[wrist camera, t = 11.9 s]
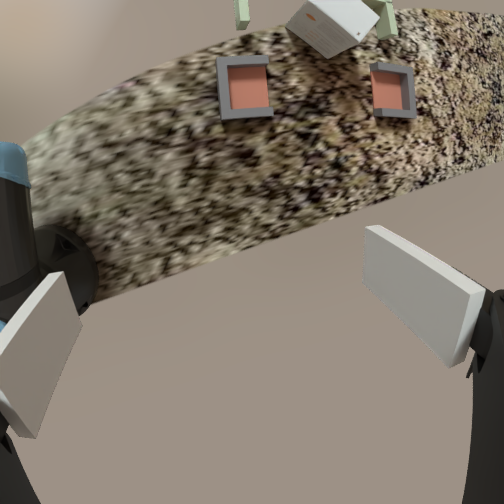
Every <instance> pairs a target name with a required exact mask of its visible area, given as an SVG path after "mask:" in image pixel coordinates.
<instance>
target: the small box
mask: <svg viewBox="0 0 504 504" xmlns="http://www.w3.org/2000/svg"><path fill="white" fill-rule="evenodd" d="M379 19H380V17H379V16H378V15H377V14H376V13H375V12H374V11H373V10H371V9H370V8H369V7H368V6H367V5H366V4H365V3H363V2H362V1H361V0H307V1H306V2H305V4H304V5H303V6H302V7H301V8H300V9H299V10H298V11H297V12H296V14H295V15H294V16H293V17H292V18H291V20H290V21H289V22H288V23H287V24H286V25H285V27H286V28H288V29H289V30H291V31H292V32H293V33H295V34H296V35H297V36H299V37H300V38H301V39H303V40H304V41H305V42H307V43H308V44H309V45H310V46H312V47H313V48H314V49H315V50H317V51H318V52H319V53H320V54H322V55H323V56H324V57H325V58H327V59H329V58H331V57H333V56H335V55H337V54H339V53H340V52H342V51H344V50H346V49H348V48H351V47H353V46H355V45H357V44H359V43H360V42H361V41H362V40H363V38H364V37H365V36H366V35H367V33H368V32H369V31H370V30H371V28H372V27H373V26H374V25H375V24H376V22H377V21H378V20H379Z"/></svg>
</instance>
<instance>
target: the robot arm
mask: <svg viewBox="0 0 504 504" xmlns="http://www.w3.org/2000/svg"><path fill="white" fill-rule="evenodd" d="M30 189H31V184H30V183H29V180H28V170H27V158H26V154H25V152H24V150H23V149H22V148H21V147H20V146H19V145H17V144H14V143H10V142H0V504H41V503H40V501H39V499H38V498H37V496H36V494H35V492H34V490H33V488H32V486H31V484H30V482H29V480H28V477H27V475H26V473H25V471H24V469H23V466H22V464H21V462H20V460H19V457H18V455H17V452H16V450H15V447H14V445H13V442H12V440H11V438H10V437H9V435H8V434H7V433H6V430H7V428H8V426H9V425H10V426H11V428H12V429H13V430H14V431H15V433H16V434H17V435H18V436H19V437H25V438H34V439H36V437H37V434H38V431H39V429H40V426H41V423H42V420H43V417H44V415H45V412H46V410H47V406H48V404H49V401H50V399H51V397H52V394H53V392H54V389H55V387H56V384H57V382H58V379H59V376H60V375H61V372H62V370H63V367H64V365H65V363H66V361H67V358H68V356H69V354H70V352H71V349H72V347H73V345H74V343H75V341H76V338H77V337H78V334H79V332H80V330H81V328H82V324H81V321H80V318H79V316H80V315H81V314H83V313H84V312H85V311H86V310H87V309H88V307H89V306H90V304H91V303H92V301H93V299H94V297H95V295H96V292H97V289H98V282H99V276H98V269H97V265H96V262H95V259H94V257H93V255H92V253H91V251H90V249H89V248H88V246H87V245H86V244H85V243H84V241H83V240H82V239H81V238H80V237H78V236H77V235H76V234H75V233H73V232H72V231H70V230H68V229H66V228H64V227H61V226H56V225H43V226H39V227H37V228H35V229H34V227H33V219H32V209H31V198H30ZM362 283H363V284H364V285H365V286H366V287H367V288H368V289H369V290H371V292H372V293H374V294H375V295H376V296H377V297H378V298H379V299H380V300H381V301H382V302H383V303H384V304H385V305H386V306H387V307H388V308H389V309H390V310H391V311H392V312H393V313H394V314H395V315H396V316H397V317H398V318H400V320H401V321H403V323H404V324H405V325H407V326H408V327H409V329H410V330H411V331H412V332H413V333H415V335H416V336H417V337H419V338H420V340H421V341H423V343H424V344H425V345H426V346H427V347H428V348H429V349H430V350H431V351H432V352H433V353H434V354H435V355H436V356H437V357H438V358H439V359H440V360H441V361H442V362H443V363H444V364H445V365H446V366H447V367H448V368H451V367H453V366H455V365H457V364H459V363H461V362H463V361H464V360H465V358H466V355H467V352H468V349H469V346H470V347H471V348H472V349H473V350H474V351H475V354H474V357H473V360H472V362H471V365H470V368H469V370H468V373H467V376H466V378H469V376H470V374H471V373H472V372H473V414H472V432H471V444H470V455H469V463H468V470H467V477H466V484H465V490H464V495H463V500H462V504H504V290H497V291H495V292H494V293H493V292H491V291H490V290H488V289H487V288H485V287H484V286H482V285H481V284H479V283H477V282H476V281H474V280H473V279H470V278H469V277H468V276H467V275H465V274H463V273H462V272H460V271H458V270H457V269H455V268H454V267H451V266H449V265H447V264H446V263H444V262H443V261H441V260H439V259H438V258H436V257H434V256H433V255H431V254H429V253H427V252H426V251H424V250H423V249H421V248H419V247H417V246H416V245H414V244H412V243H411V242H409V241H407V240H405V239H404V238H402V237H400V236H398V235H397V234H395V233H393V232H391V231H389V230H387V229H386V228H384V227H382V226H380V225H375V226H368V227H365V240H364V265H363V281H362Z"/></svg>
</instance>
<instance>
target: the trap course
mask: <svg viewBox="0 0 504 504" xmlns="http://www.w3.org/2000/svg"><path fill="white" fill-rule="evenodd" d="M361 1H362V2H363V3H365V4H366V5H367V6H368V7H369V8H370V9H373V11H374V12H375V13H376V14H377V15H378V16H379V17H380V19H379V20H378V21H377V22H376V30H377V36H378V39H380V40H386V39H389V38H391V37H394V36H397V35H398V32H397V26H396V21H395V15H394V10H393V5H392V0H361ZM234 8H235V18H236V30H245V29H246V27H247V25H248V24H249V21H250V15H249V5H248V0H234ZM215 63H216V75H217V87H218V98H219V109H220V120H231V119H242V118H256V117H270V116H274V115H273V107H269V102H268V90H267V79H266V69H265V67H266V66H267V65H268V64H269V59H268V55H250V56H230V57H217V58H216V61H215ZM370 74H371V84H372V95H373V109H374V116H380V117H397V118H417V117H416V101H415V88H414V78H413V69H412V67H407V66H402V65H396V64H390V63H383V62H376V63H372V64H370Z"/></svg>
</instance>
